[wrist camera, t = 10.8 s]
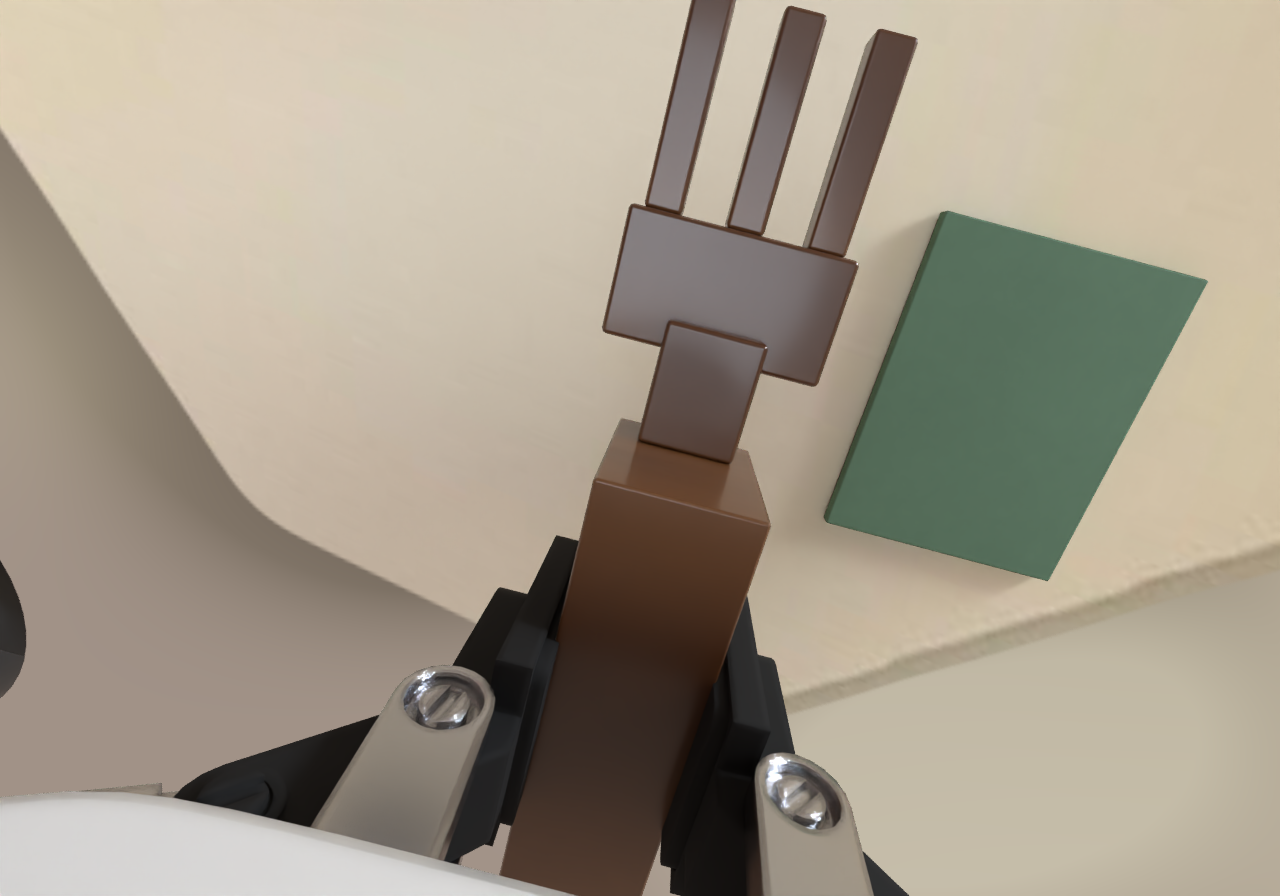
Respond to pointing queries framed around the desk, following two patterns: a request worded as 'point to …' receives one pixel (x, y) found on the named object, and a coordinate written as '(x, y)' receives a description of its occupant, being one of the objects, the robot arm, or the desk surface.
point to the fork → (688, 455)
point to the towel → (1007, 393)
